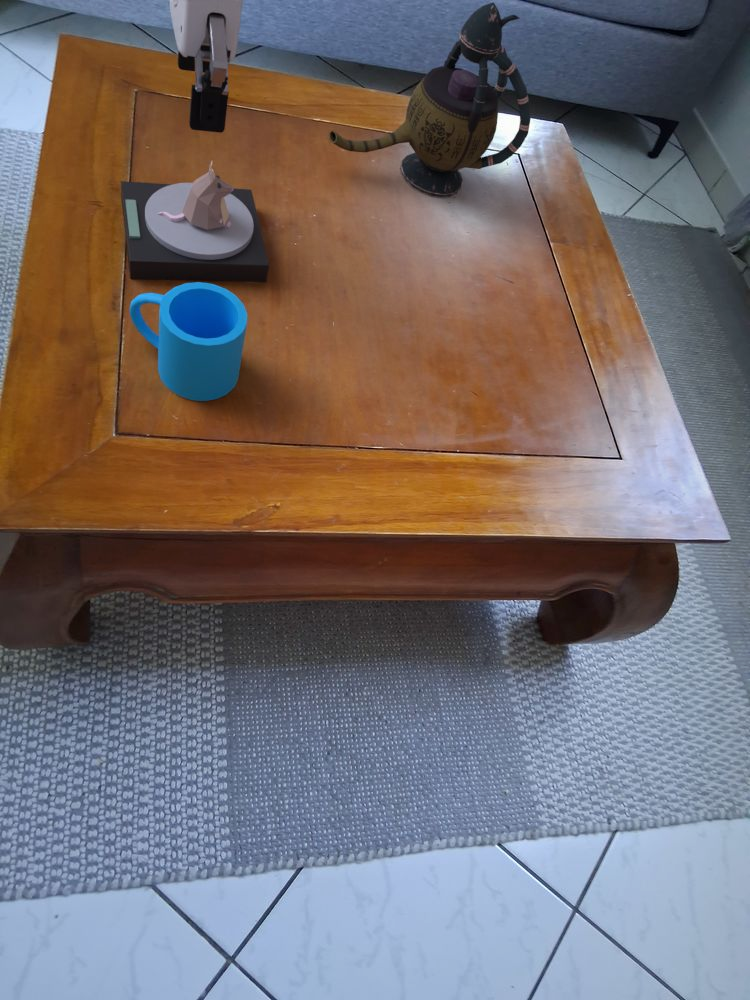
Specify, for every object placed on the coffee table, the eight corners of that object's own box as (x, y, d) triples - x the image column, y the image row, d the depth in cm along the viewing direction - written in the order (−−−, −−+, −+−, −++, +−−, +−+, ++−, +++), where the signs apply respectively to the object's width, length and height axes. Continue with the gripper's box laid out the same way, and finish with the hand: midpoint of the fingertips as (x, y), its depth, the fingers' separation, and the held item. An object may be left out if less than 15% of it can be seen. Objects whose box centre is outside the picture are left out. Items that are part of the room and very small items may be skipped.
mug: (252, 363, 81) (262, 307, 74) (214, 413, 76) (220, 359, 70) (152, 312, 81) (153, 252, 74) (108, 359, 76) (104, 300, 70)
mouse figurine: (156, 198, 86) (157, 145, 80) (228, 204, 88) (233, 152, 83) (159, 230, 83) (160, 176, 78) (233, 235, 86) (239, 183, 80)
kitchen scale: (130, 278, 83) (129, 255, 80) (121, 199, 89) (120, 174, 86) (266, 282, 88) (270, 259, 85) (249, 206, 94) (252, 183, 91)
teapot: (501, 206, 108) (578, 39, 89) (334, 202, 99) (380, 15, 80) (472, 151, 113) (539, -17, 94) (311, 143, 104) (349, -45, 85)
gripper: (156, -167, 63) (151, 43, 77) (179, -65, 55) (169, 150, 68) (246, -146, 66) (226, 54, 79) (282, -46, 57) (252, 158, 71)
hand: (200, 98), depth 74 cm, fingers open, 9 cm apart
